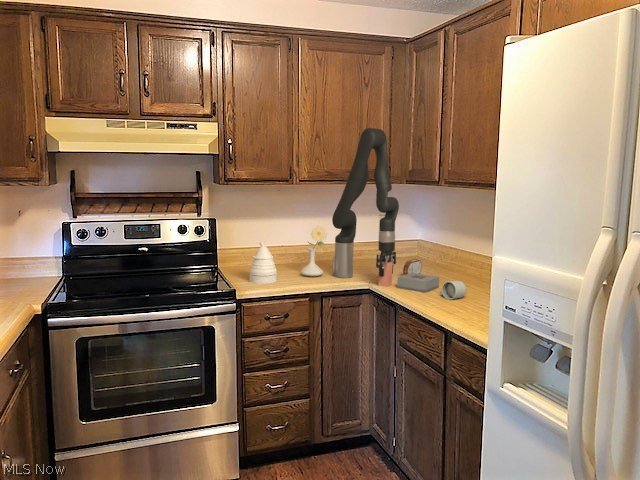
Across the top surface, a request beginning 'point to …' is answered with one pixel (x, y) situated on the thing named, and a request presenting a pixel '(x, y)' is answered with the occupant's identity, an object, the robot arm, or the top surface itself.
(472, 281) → the top surface
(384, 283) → the plug
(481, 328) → the top surface
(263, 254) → the honey pot
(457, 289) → the ceramic mug
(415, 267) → the tin
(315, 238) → the flower in vase
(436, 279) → the socket block
